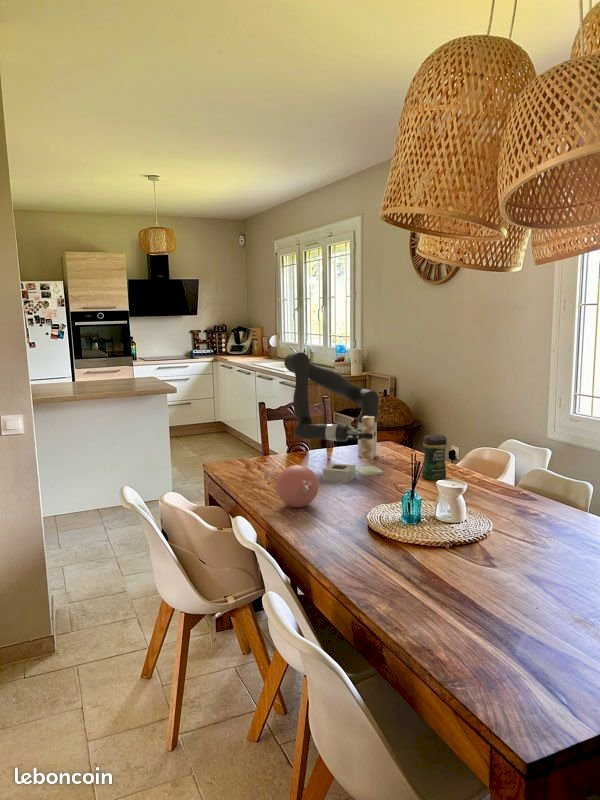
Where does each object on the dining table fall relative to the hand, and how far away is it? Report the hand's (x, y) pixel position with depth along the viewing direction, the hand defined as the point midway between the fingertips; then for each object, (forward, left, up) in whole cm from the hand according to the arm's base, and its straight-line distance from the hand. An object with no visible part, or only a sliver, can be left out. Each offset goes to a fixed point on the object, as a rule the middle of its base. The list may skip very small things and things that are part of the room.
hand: (373, 435), depth 250 cm
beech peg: (-2, -2, -12) cm, 12 cm away
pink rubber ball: (+33, -46, -17) cm, 59 cm away
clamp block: (+3, -18, -17) cm, 25 cm away
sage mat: (-2, -2, -17) cm, 17 cm away
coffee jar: (+17, +20, -17) cm, 32 cm away
